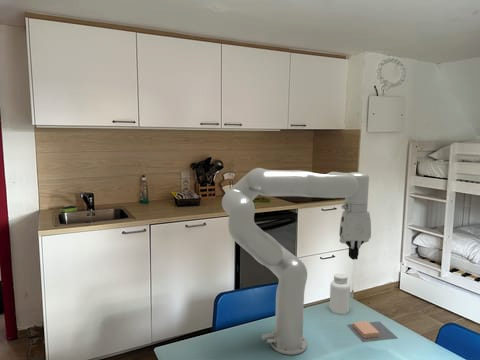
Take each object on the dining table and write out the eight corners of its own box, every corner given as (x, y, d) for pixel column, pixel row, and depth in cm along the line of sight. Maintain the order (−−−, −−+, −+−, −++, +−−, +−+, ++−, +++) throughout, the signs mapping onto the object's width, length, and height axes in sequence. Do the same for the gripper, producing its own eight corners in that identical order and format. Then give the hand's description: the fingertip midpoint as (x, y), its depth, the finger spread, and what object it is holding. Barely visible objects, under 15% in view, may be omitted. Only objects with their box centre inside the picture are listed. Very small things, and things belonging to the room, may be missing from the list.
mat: (362, 343, 130) (362, 342, 130) (346, 325, 142) (346, 324, 141) (398, 339, 133) (398, 338, 133) (379, 322, 144) (379, 321, 144)
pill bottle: (336, 303, 159) (338, 270, 157) (353, 311, 153) (355, 276, 151) (325, 309, 154) (326, 275, 152) (341, 317, 148) (343, 281, 146)
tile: (379, 336, 133) (363, 338, 132) (367, 325, 141) (352, 327, 140) (379, 332, 133) (364, 333, 132) (367, 321, 141) (353, 322, 140)
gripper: (341, 210, 124) (338, 263, 126) (381, 209, 127) (378, 260, 129) (331, 206, 131) (329, 256, 134) (369, 205, 134) (366, 253, 137)
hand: (353, 258), depth 131 cm, fingers closed
